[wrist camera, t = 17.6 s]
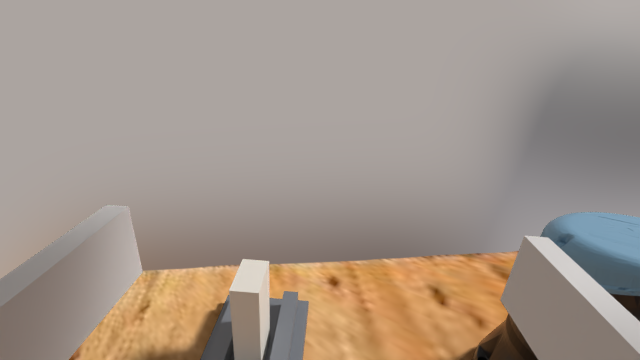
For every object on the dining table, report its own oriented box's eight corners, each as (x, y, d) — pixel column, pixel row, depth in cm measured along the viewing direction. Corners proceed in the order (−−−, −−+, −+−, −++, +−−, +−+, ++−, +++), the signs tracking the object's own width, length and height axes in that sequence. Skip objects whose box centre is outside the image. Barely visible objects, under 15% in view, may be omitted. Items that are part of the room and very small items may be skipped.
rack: (308, 308, 47) (309, 288, 45) (292, 451, 31) (293, 427, 29) (228, 302, 47) (227, 281, 46) (171, 440, 31) (165, 415, 29)
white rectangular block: (269, 336, 41) (268, 261, 36) (261, 373, 36) (258, 293, 31) (246, 334, 41) (242, 259, 36) (235, 371, 36) (229, 290, 31)
